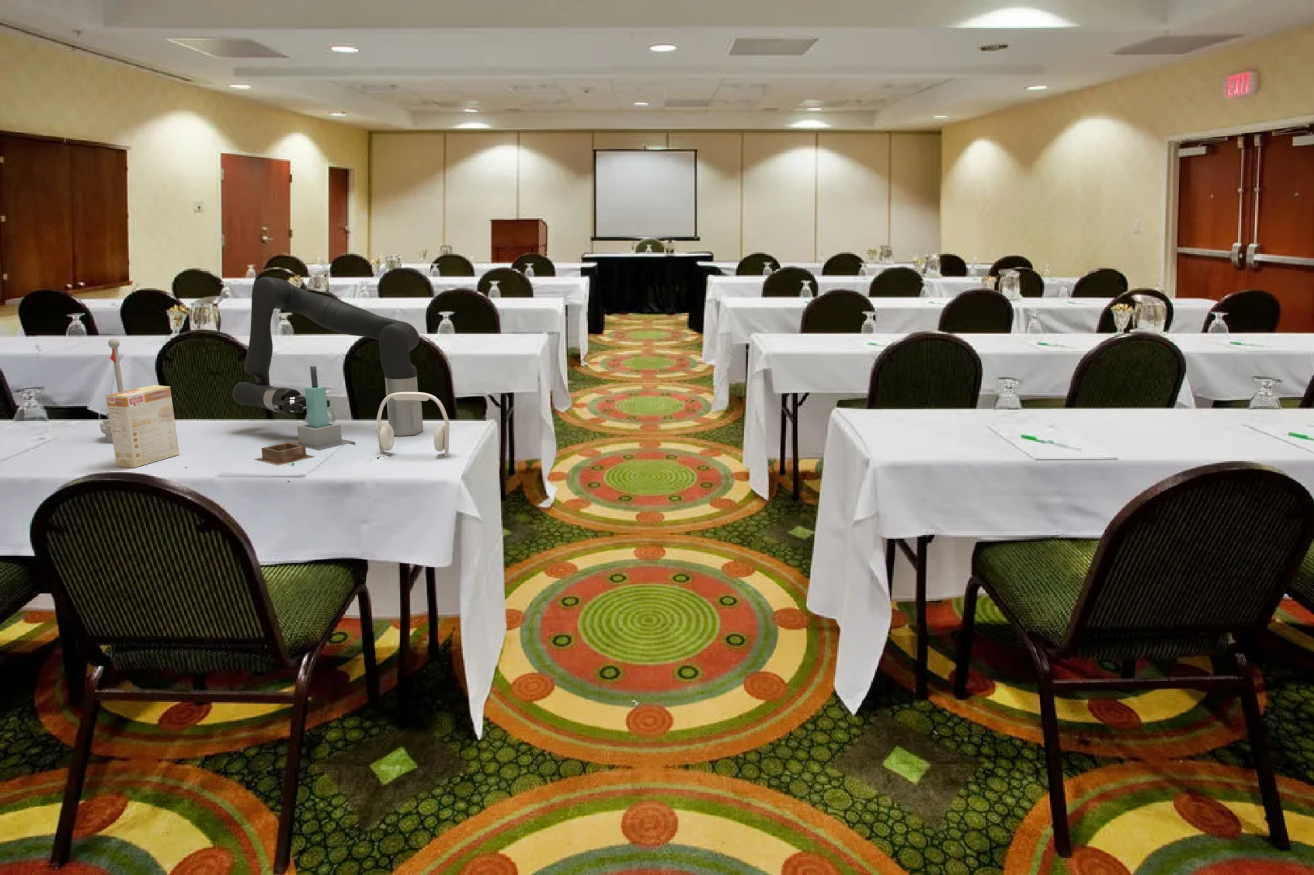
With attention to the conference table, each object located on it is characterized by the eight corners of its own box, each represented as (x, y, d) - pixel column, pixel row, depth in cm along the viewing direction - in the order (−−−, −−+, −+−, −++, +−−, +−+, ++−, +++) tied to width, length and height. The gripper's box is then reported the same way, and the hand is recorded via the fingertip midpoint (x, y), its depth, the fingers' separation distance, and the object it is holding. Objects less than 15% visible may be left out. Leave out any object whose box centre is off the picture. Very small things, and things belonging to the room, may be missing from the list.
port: (321, 437, 285) (320, 418, 283) (355, 445, 275) (353, 424, 274) (285, 445, 275) (283, 425, 274) (319, 453, 266) (317, 432, 264)
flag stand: (109, 434, 291) (95, 336, 284) (156, 432, 294) (143, 334, 287) (96, 444, 279) (80, 342, 272) (145, 441, 282) (131, 340, 275)
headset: (454, 452, 266) (450, 389, 262) (446, 459, 259) (442, 394, 255) (383, 452, 267) (378, 389, 263) (374, 458, 260) (369, 394, 256)
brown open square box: (291, 454, 266) (289, 440, 265) (314, 460, 259) (313, 445, 258) (254, 462, 257) (253, 448, 256) (278, 469, 251) (276, 454, 250)
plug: (321, 439, 278) (314, 364, 273) (330, 441, 275) (323, 366, 270) (309, 442, 275) (302, 366, 269) (318, 444, 272) (311, 368, 267)
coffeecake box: (161, 452, 269) (152, 384, 264) (180, 454, 266) (171, 385, 262) (114, 466, 255) (104, 394, 251) (134, 468, 253) (124, 395, 248)
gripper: (259, 391, 276) (292, 397, 266) (302, 383, 287) (336, 389, 277) (262, 416, 277) (294, 423, 268) (305, 408, 289) (338, 414, 279)
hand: (315, 406), depth 273 cm, fingers open, 8 cm apart
